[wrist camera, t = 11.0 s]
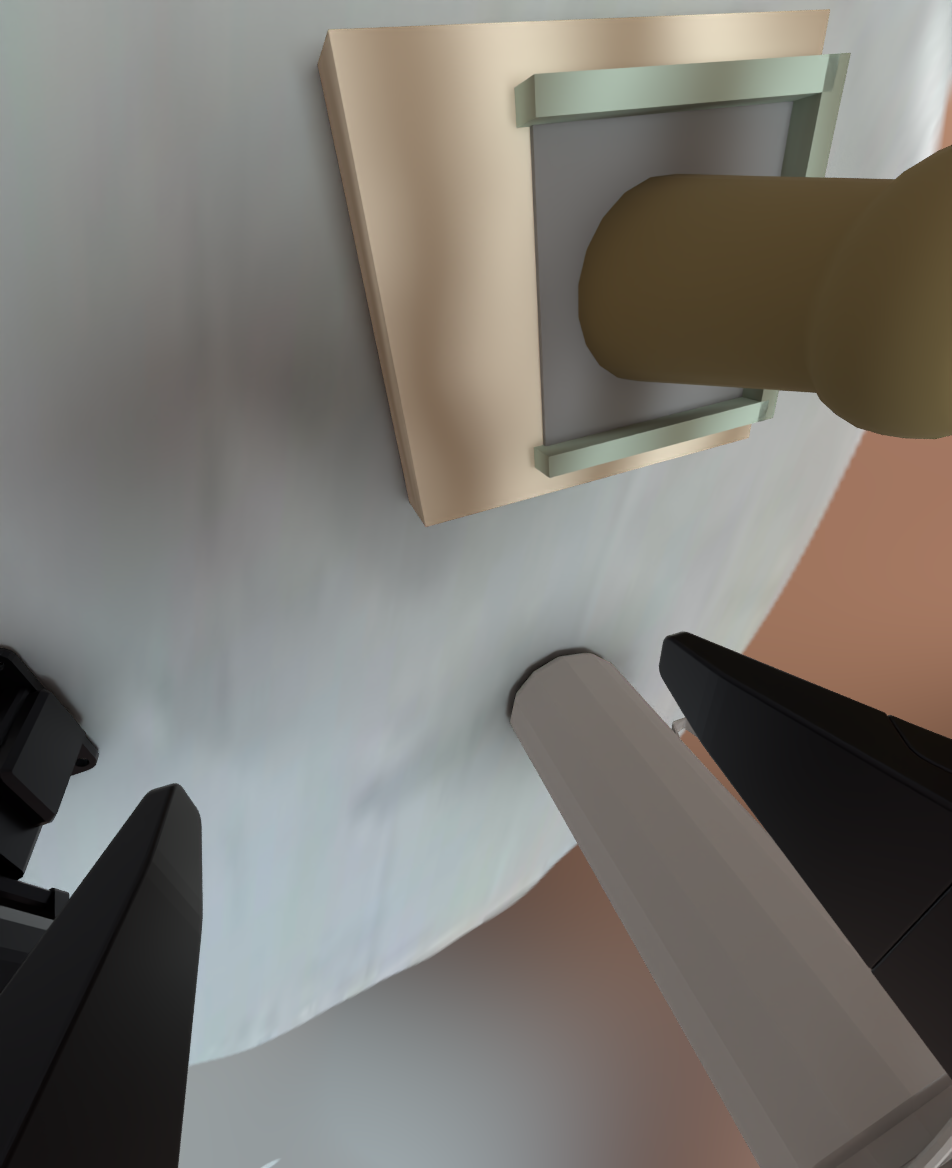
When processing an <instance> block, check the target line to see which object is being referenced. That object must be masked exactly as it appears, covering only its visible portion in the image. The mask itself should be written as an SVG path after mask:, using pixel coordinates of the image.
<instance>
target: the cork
mask: <svg viewBox="0 0 952 1168" xmlns="http://www.w3.org/2000/svg"><path fill="white" fill-rule="evenodd" d="M578 318H579V321H580V325H581V329H582V332H583V336H584V339H585V343H586V346H587V347H588V349H589V350H590V352H591V353H592V355H593V356H594V358H595V359H596V361H597V362H598V364H599V365H600V366H601V367H603V368H604V369H606V370H607V371H609V372H610V373H612V374H613V375H615V376H616V377H618V378H622V379H628V380H634V381H643V382H659V383H674V384H690V385H705V386H720V387H736V388H751V389H767V390H782V391H798V392H813V393H817V395H818V397H819V399H820V400H821V401H822V402H823V403H824V404H825V405H826V406H827V407H828V408H829V409H831V410H832V411H833V412H834V413H835V414H836V415H838V416H839V417H841V418H842V419H844V420H846V421H847V422H849V423H850V424H852V425H854V426H855V427H857V428H860V429H864V430H867V431H871V432H874V433H878V434H881V435H887V436H894V437H900V438H915V439H937V438H942V437H946V436H950V435H952V145H951V146H948V147H946V148H944V149H942V150H939V151H937V152H936V153H934V154H932V155H931V156H929V157H927V158H926V159H924V160H923V161H921V162H919V163H918V164H916V165H914V166H913V167H911V168H909V169H908V170H906V171H904V172H903V173H902V174H901V175H900V176H899V177H897V178H896V179H860V178H821V177H782V176H743V175H704V174H671V175H664V176H656V177H650V178H648V179H647V180H645V181H643V182H642V183H640V184H638V185H637V186H635V187H633V188H632V189H630V190H628V191H627V192H625V193H624V194H623V195H622V196H621V197H620V199H619V200H618V201H617V202H616V203H615V204H614V205H613V207H612V208H611V209H610V210H609V211H608V212H607V213H606V215H605V216H604V217H603V218H602V220H601V222H600V224H599V226H598V228H597V230H596V232H595V234H594V236H593V238H592V240H591V242H590V244H589V246H588V248H587V250H586V254H585V258H584V263H583V267H582V271H581V275H580V280H579V284H578Z"/></svg>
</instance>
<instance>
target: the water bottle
mask: <svg viewBox="0 0 952 1168" xmlns="http://www.w3.org/2000/svg"><path fill="white" fill-rule="evenodd" d="M510 724H511V726H512V728H513V730H514V731H515V733H516V735H517V737H518V739H519V740H520V742H521V744H522V746H523V747H524V749H525V751H526V753H527V755H528V756H529V758H530V760H531V762H532V763H533V765H534V767H535V769H536V771H537V772H538V774H539V776H540V778H541V779H542V781H543V783H544V785H545V786H546V788H547V790H548V792H549V794H550V795H551V797H552V799H553V801H554V802H555V804H556V806H557V808H558V810H559V811H560V813H561V815H562V817H563V818H564V820H565V822H566V824H567V826H568V827H569V829H570V831H571V833H572V834H573V836H574V838H575V840H576V842H577V843H578V845H579V847H580V849H581V850H582V852H583V854H584V856H585V857H586V859H587V861H588V862H589V865H590V866H591V868H592V870H593V872H594V873H595V875H596V877H597V879H598V881H599V882H600V884H601V886H602V888H603V889H604V891H605V893H606V895H607V897H608V898H609V900H610V902H611V904H612V905H613V907H614V909H615V911H616V913H617V914H618V916H619V918H620V920H621V921H622V923H623V925H624V927H625V928H626V930H627V932H628V934H629V936H630V937H631V939H632V941H633V942H634V944H635V946H636V948H637V950H638V952H639V953H640V955H641V957H642V959H643V960H644V962H645V964H646V966H647V968H648V969H649V971H650V973H651V975H652V976H653V978H654V980H655V982H656V984H657V985H658V987H659V989H660V991H661V992H662V994H663V996H664V998H665V999H666V1001H667V1003H668V1005H669V1007H670V1008H671V1010H672V1012H673V1014H674V1015H675V1017H676V1019H677V1021H678V1023H679V1024H680V1026H681V1028H682V1030H683V1031H684V1033H685V1035H686V1037H687V1039H688V1040H689V1042H690V1044H691V1045H692V1047H693V1049H694V1051H695V1053H696V1055H697V1056H698V1058H699V1060H700V1062H701V1063H702V1065H703V1067H704V1069H705V1070H706V1072H707V1074H708V1076H709V1078H710V1079H711V1081H712V1083H713V1085H714V1086H715V1088H716V1090H717V1092H718V1094H719V1095H720V1097H721V1099H722V1101H723V1102H724V1104H725V1106H726V1108H727V1109H728V1111H729V1113H730V1115H731V1116H732V1118H733V1120H734V1122H735V1124H736V1125H737V1127H738V1129H739V1131H740V1133H741V1134H742V1136H743V1138H744V1140H745V1141H746V1143H747V1145H748V1147H749V1148H750V1150H751V1152H752V1154H753V1156H754V1157H755V1159H756V1161H757V1163H758V1164H759V1166H760V1168H952V1080H951V1078H950V1077H949V1076H948V1074H947V1073H946V1072H945V1070H944V1069H943V1068H942V1066H941V1065H940V1064H939V1062H938V1061H937V1060H936V1058H935V1057H934V1056H933V1054H932V1053H931V1052H930V1050H929V1049H928V1048H927V1046H926V1045H925V1044H924V1042H923V1041H922V1040H921V1038H920V1037H919V1036H918V1034H917V1033H916V1032H915V1030H914V1029H913V1027H912V1026H911V1025H910V1023H909V1022H908V1021H907V1019H906V1018H905V1017H904V1015H903V1014H902V1013H901V1011H900V1010H899V1009H898V1007H897V1006H896V1005H895V1003H894V1002H893V1001H892V999H891V998H890V997H889V995H888V994H887V993H886V991H885V990H884V989H883V987H882V986H881V985H880V983H879V982H878V981H877V979H876V978H875V977H874V975H873V974H872V972H871V969H870V968H868V967H867V965H866V964H865V963H864V961H863V960H862V958H861V957H860V956H859V954H858V953H857V952H856V950H855V949H854V948H853V946H852V945H851V944H850V942H849V941H848V940H847V938H846V937H845V936H844V934H843V933H842V932H841V930H840V929H839V928H838V926H837V925H836V924H835V922H834V921H833V920H832V918H831V917H830V916H829V914H828V913H827V911H826V910H825V909H824V907H823V906H822V905H821V903H820V902H819V901H818V899H817V898H816V897H815V895H814V894H813V893H812V891H811V890H810V889H809V887H808V886H807V885H806V883H805V882H804V881H803V879H802V878H801V877H800V875H799V874H798V873H797V871H796V870H795V869H794V867H793V866H792V864H791V863H790V862H789V860H788V859H787V858H786V856H785V855H784V854H783V852H782V851H781V850H780V848H779V847H778V846H777V844H776V843H775V842H774V840H773V839H772V838H771V836H770V835H769V834H768V833H767V832H766V831H765V830H764V829H763V828H762V826H761V825H759V823H758V822H757V821H756V820H755V819H754V818H753V817H752V816H751V815H750V814H749V813H748V812H747V811H746V809H745V808H744V807H743V806H742V805H741V804H740V803H739V802H738V801H737V800H736V799H735V798H734V797H733V796H732V795H731V794H730V793H729V792H728V790H727V789H726V788H725V787H724V786H723V785H722V784H721V783H720V782H719V781H718V780H717V779H716V778H715V776H713V774H712V773H711V772H710V771H709V770H708V769H707V768H706V767H705V766H704V765H703V764H702V763H701V761H700V760H699V759H698V758H697V757H696V756H695V755H694V754H693V753H692V752H691V750H690V749H689V748H688V747H687V746H686V745H685V744H684V743H683V742H682V740H681V739H680V737H679V734H678V732H679V731H680V730H682V729H683V728H685V729H686V730H688V731H689V732H691V733H692V734H694V735H695V736H696V734H695V732H694V731H693V729H692V727H691V726H690V724H689V722H688V721H687V719H686V717H685V718H682V719H679V720H676V721H674V722H673V724H672V729H671V728H670V727H669V726H668V725H667V724H666V723H665V722H664V721H663V720H662V718H661V717H660V716H659V715H658V714H657V713H656V712H655V711H654V710H653V709H652V707H651V706H650V705H649V704H648V703H647V702H646V701H645V700H644V699H643V698H642V696H641V695H640V694H639V693H638V692H637V691H636V690H635V689H634V688H633V686H632V685H631V684H630V683H629V682H628V681H627V680H626V679H625V678H624V677H623V675H622V674H621V673H620V672H619V671H618V670H617V669H616V668H615V667H614V666H613V664H612V663H611V662H608V661H606V660H604V659H602V658H600V657H598V656H596V655H594V654H592V653H580V654H573V655H566V656H559V657H557V658H555V659H554V660H552V661H550V662H549V663H547V664H545V665H544V666H542V667H540V668H539V669H537V670H535V671H534V672H533V673H532V674H531V675H530V677H529V678H528V679H527V680H526V682H525V683H524V684H523V685H522V687H521V688H520V689H519V690H518V692H517V693H516V697H515V701H514V706H513V711H512V715H511V720H510ZM696 737H697V736H696Z"/></svg>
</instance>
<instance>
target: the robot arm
mask: <svg viewBox="0 0 952 1168" xmlns="http://www.w3.org/2000/svg"><path fill="white" fill-rule="evenodd" d="M0 661H1V662H2V663H4V665H0V1168H178V1162H179V1153H180V1143H181V1142H180V1141H181V1133H182V1123H183V1113H184V1103H185V1093H186V1083H187V1073H188V1063H189V1053H190V1043H191V1033H192V1023H193V1013H194V1003H195V993H196V984H197V974H198V964H199V954H200V944H201V933H202V919H203V892H202V826H201V818H200V814H199V811H198V810H197V808H196V806H195V805H194V804H193V802H192V801H191V799H190V798H189V796H188V795H187V793H186V792H185V790H184V789H183V787H182V786H181V785H179V784H177V783H173V784H169V785H166V786H163V787H159V788H156V789H153V790H151V791H149V792H148V793H147V794H146V795H145V796H144V798H143V799H142V800H141V802H140V803H139V805H138V806H137V807H136V809H135V810H134V811H133V813H132V814H131V815H130V817H129V818H128V820H127V821H126V822H125V824H124V825H123V826H122V828H121V829H120V830H119V832H118V833H117V835H116V836H115V837H114V839H113V840H112V841H111V843H110V844H109V846H108V847H107V848H106V850H105V851H104V852H103V854H102V855H101V856H100V858H99V859H98V861H97V862H96V863H95V865H94V866H93V867H92V869H91V870H90V872H89V873H88V874H87V876H86V877H85V878H84V880H83V881H82V882H81V884H80V885H79V887H78V888H77V889H76V891H75V892H74V893H73V895H72V896H71V898H70V899H69V893H68V892H65V891H62V890H59V889H56V888H51V889H49V890H47V889H44V888H41V887H38V886H34V885H31V884H28V883H25V882H22V881H18V879H20V878H22V877H23V875H24V873H25V870H26V868H27V865H28V862H29V860H30V857H31V854H32V852H33V849H34V846H35V844H36V841H37V839H38V836H39V833H40V831H41V828H42V825H44V824H47V823H50V822H52V821H53V820H54V818H55V816H56V814H57V812H58V809H59V807H60V804H61V801H62V798H63V796H64V793H65V790H66V787H67V785H68V782H69V779H70V776H72V775H75V774H78V773H81V772H84V771H87V770H89V769H91V768H93V767H94V766H95V765H96V763H97V760H98V756H99V753H98V751H97V749H96V748H95V747H94V746H93V745H92V744H91V742H90V741H89V740H88V739H87V738H86V737H85V732H84V730H83V729H82V728H81V727H80V726H79V724H78V723H77V722H76V721H75V720H74V719H73V717H72V716H71V715H70V714H69V713H68V711H67V710H66V709H65V708H64V707H63V705H62V704H61V703H60V702H59V701H58V700H57V698H56V697H55V696H54V695H53V694H52V693H51V692H49V691H47V690H46V689H45V688H44V687H43V686H42V685H41V684H40V682H39V681H38V680H37V679H36V678H35V677H34V675H33V674H32V673H31V672H30V671H29V669H28V668H27V667H26V666H25V665H24V664H23V662H22V661H21V660H20V659H19V658H18V657H17V655H16V654H14V653H13V652H12V651H10V650H7V649H3V648H0ZM659 671H660V674H661V677H662V679H663V681H664V682H665V684H666V686H667V687H668V689H669V691H670V692H671V694H672V696H673V697H674V699H675V701H676V702H677V704H678V706H679V707H680V709H681V711H682V712H683V714H684V716H685V717H686V719H687V721H688V722H689V724H690V726H691V727H692V729H693V731H694V732H695V734H696V736H697V737H698V739H699V740H700V742H701V743H702V745H703V746H704V747H705V749H706V750H707V752H708V753H709V754H710V756H711V757H712V758H713V760H714V761H715V762H716V764H717V765H718V766H719V768H720V769H721V770H722V772H723V773H724V775H725V776H726V777H727V779H728V780H729V781H730V783H731V784H732V785H733V787H734V788H735V789H736V791H737V792H738V793H739V795H740V796H741V797H742V799H743V800H744V801H745V803H746V804H747V805H748V807H749V808H750V809H751V811H752V812H753V813H754V815H755V816H756V817H757V819H758V820H759V821H760V823H761V824H762V825H763V827H764V828H765V830H766V831H767V832H768V834H769V835H770V836H771V838H772V839H773V840H774V842H775V843H776V844H777V846H778V847H779V848H780V850H781V851H782V852H783V854H784V855H785V856H786V858H787V859H788V860H789V862H790V863H791V864H792V866H793V867H794V869H795V870H796V871H797V873H798V874H799V875H800V877H801V878H802V879H803V881H804V882H805V883H806V885H807V886H808V887H809V889H810V890H811V891H812V893H813V894H814V895H815V897H816V898H817V899H818V901H819V902H820V903H821V905H822V906H823V907H824V909H825V910H826V911H827V913H828V914H829V916H830V917H831V918H832V920H833V921H834V922H835V924H836V925H837V926H838V928H839V929H840V930H841V932H842V933H843V934H844V936H845V937H846V938H847V940H848V941H849V942H850V944H851V945H852V946H853V948H854V949H855V950H856V952H857V953H858V954H859V956H860V957H861V958H862V960H863V961H864V963H865V964H866V965H867V967H868V968H870V969H871V972H872V974H873V975H874V977H875V978H876V979H877V981H878V982H879V983H880V985H881V986H882V987H883V989H884V990H885V991H886V993H887V994H888V995H889V997H890V998H891V999H892V1001H893V1002H894V1003H895V1005H896V1006H897V1007H898V1009H899V1010H900V1011H901V1013H902V1014H903V1015H904V1017H905V1018H906V1019H907V1021H908V1022H909V1023H910V1025H911V1026H912V1027H913V1029H914V1030H915V1032H916V1033H917V1034H918V1036H919V1037H920V1038H921V1040H922V1041H923V1042H924V1044H925V1045H926V1046H927V1048H928V1049H929V1050H930V1052H931V1053H932V1054H933V1056H934V1057H935V1058H936V1060H937V1061H938V1062H939V1064H940V1065H941V1066H942V1068H943V1069H944V1070H945V1072H946V1073H947V1074H948V1076H949V1077H950V1078H951V1080H952V739H950V738H947V737H945V736H942V735H940V734H937V733H934V732H932V731H929V730H927V729H924V728H922V727H919V726H916V725H914V724H912V723H909V722H906V721H904V720H902V719H899V718H897V717H894V716H892V715H888V716H887V714H886V713H884V712H882V711H879V710H877V709H875V708H872V707H870V706H867V705H865V704H862V703H860V702H857V701H855V700H852V699H850V698H847V697H845V696H843V695H840V694H838V693H835V692H833V691H830V690H828V689H825V688H823V687H821V686H818V685H816V684H813V683H811V682H808V681H806V680H804V679H801V678H798V677H796V676H794V675H791V674H789V673H786V672H784V671H782V670H779V669H776V668H774V667H772V666H769V665H767V664H764V663H762V662H759V661H757V660H754V659H752V658H750V657H747V656H745V655H742V654H740V653H737V652H735V651H733V650H730V649H728V648H725V647H723V646H720V645H718V644H715V643H713V642H710V641H708V640H706V639H703V638H701V637H698V636H696V635H693V634H691V633H688V632H679V633H676V634H672V635H669V636H667V637H666V638H665V639H664V641H663V645H662V651H661V657H660V662H659ZM80 758H86V759H85V760H84V759H80Z"/></svg>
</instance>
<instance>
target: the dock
mask: <svg viewBox="0 0 952 1168" xmlns="http://www.w3.org/2000/svg"><path fill="white" fill-rule="evenodd" d="M829 13H830V9H827V10H803V11H778V12H753V13H728V14H703V15H678V16H654V17H629V18H604V19H579V20H554V21H529V22H505V23H480V24H455V25H430V26H405V27H380V28H356V29H331V30H328V32H327V35H326V39H325V42H324V45H323V48H322V51H321V55H320V58H319V61H318V69H319V74H320V79H321V83H322V88H323V93H324V98H325V102H326V107H327V112H328V117H329V121H330V126H331V131H332V136H333V140H334V145H335V150H336V155H337V160H338V164H339V169H340V174H341V179H342V183H343V188H344V193H345V198H346V202H347V207H348V212H349V217H350V221H351V226H352V231H353V236H354V240H355V245H356V250H357V255H358V260H359V264H360V269H361V274H362V279H363V283H364V288H365V293H366V298H367V302H368V307H369V312H370V317H371V321H372V326H373V331H374V336H375V340H376V345H377V350H378V355H379V360H380V364H381V369H382V374H383V379H384V383H385V388H386V393H387V398H388V402H389V407H390V412H391V417H392V421H393V426H394V431H395V436H396V440H397V445H398V450H399V455H400V460H401V464H402V469H403V474H404V479H405V483H406V488H407V493H408V498H409V502H410V504H411V505H412V507H413V509H414V510H415V512H416V513H417V515H418V516H419V518H420V519H421V521H422V522H423V524H424V525H425V527H428V526H431V525H435V524H439V523H442V522H446V521H449V520H453V519H457V518H460V517H464V516H468V515H471V514H475V513H478V512H482V511H486V510H489V509H493V508H496V507H500V506H504V505H507V504H511V503H515V502H518V501H522V500H525V499H529V498H533V497H536V496H540V495H543V494H547V493H551V492H554V491H558V490H562V489H565V488H569V487H572V486H576V485H580V484H583V483H587V482H591V481H594V480H598V479H601V478H605V477H609V476H612V475H616V474H619V473H623V472H627V471H630V470H634V469H638V468H641V467H645V466H648V465H652V464H656V463H659V462H663V461H666V460H670V459H674V458H677V457H681V456H685V455H688V454H692V453H695V452H699V451H703V450H706V449H710V448H713V447H717V446H721V445H724V444H728V443H732V442H735V441H739V440H742V439H746V438H749V434H750V429H751V424H752V423H756V422H760V421H763V420H767V419H771V418H773V416H774V411H775V407H776V402H777V397H778V392H779V390H767V389H751V388H736V387H720V386H705V385H690V384H674V383H659V382H643V381H634V380H628V379H622V378H618V377H616V376H615V375H613V374H612V373H610V372H609V371H607V370H606V369H604V368H603V367H601V366H600V365H599V364H598V362H597V361H596V359H595V358H594V356H593V355H592V353H591V352H590V350H589V349H588V347H587V346H586V343H585V339H584V336H583V332H582V329H581V325H580V321H579V318H578V284H579V280H580V275H581V271H582V267H583V263H584V258H585V254H586V250H587V248H588V246H589V244H590V242H591V240H592V238H593V236H594V234H595V232H596V230H597V228H598V226H599V224H600V222H601V220H602V218H603V217H604V216H605V215H606V213H607V212H608V211H609V210H610V209H611V208H612V207H613V205H614V204H615V203H616V202H617V201H618V200H619V199H620V197H621V196H622V195H623V194H624V193H625V192H627V191H628V190H630V189H632V188H633V187H635V186H637V185H638V184H640V183H642V182H643V181H645V180H647V179H648V178H650V177H656V176H664V175H671V174H704V175H743V176H782V177H821V178H824V176H825V172H826V167H827V162H828V158H829V153H830V148H831V144H832V139H833V134H834V129H835V125H836V120H837V115H838V111H839V106H840V101H841V97H842V92H843V87H844V82H845V78H846V73H847V68H848V64H849V59H850V54H851V53H842V54H827V55H822V50H823V45H824V40H825V34H826V29H827V24H828V18H829Z"/></svg>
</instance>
